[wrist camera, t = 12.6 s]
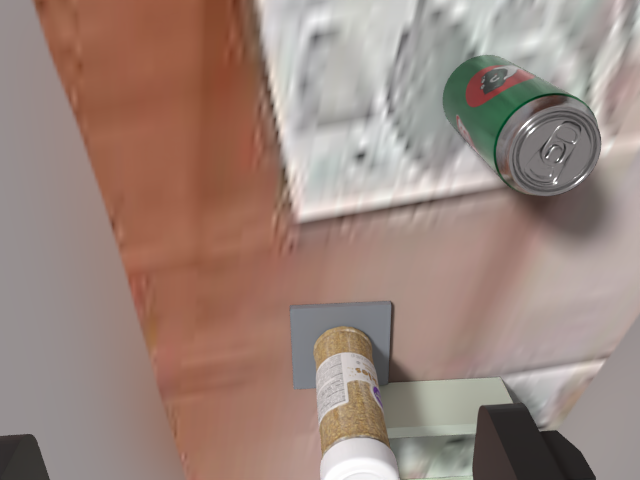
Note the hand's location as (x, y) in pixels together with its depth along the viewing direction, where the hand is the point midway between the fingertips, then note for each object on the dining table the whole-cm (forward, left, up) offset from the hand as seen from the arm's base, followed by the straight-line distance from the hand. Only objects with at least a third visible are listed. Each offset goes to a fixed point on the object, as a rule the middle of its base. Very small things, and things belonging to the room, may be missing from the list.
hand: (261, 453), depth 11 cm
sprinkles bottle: (-4, +20, -30) cm, 36 cm away
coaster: (-4, +20, -30) cm, 36 cm away
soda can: (-13, +1, -30) cm, 33 cm away
